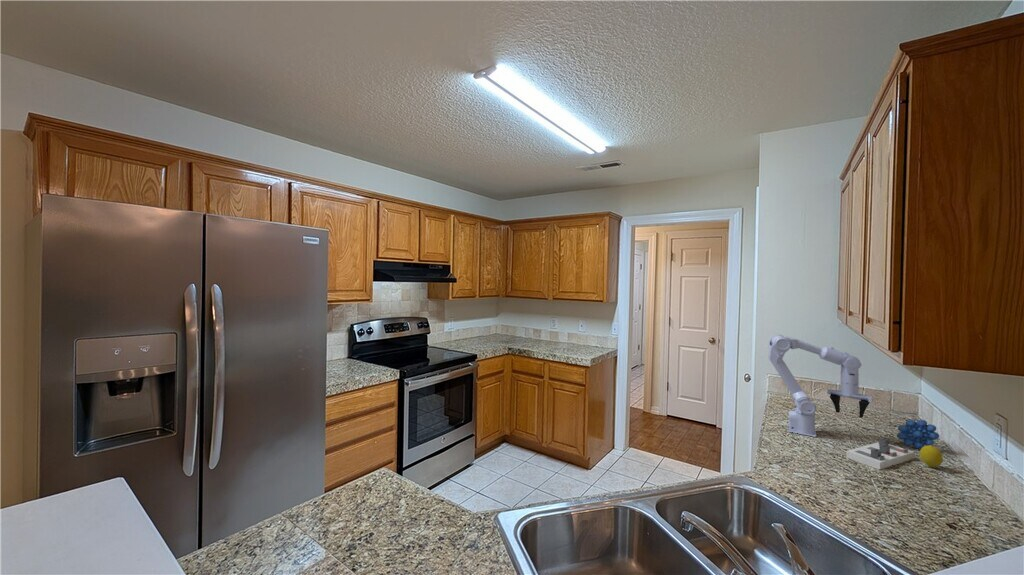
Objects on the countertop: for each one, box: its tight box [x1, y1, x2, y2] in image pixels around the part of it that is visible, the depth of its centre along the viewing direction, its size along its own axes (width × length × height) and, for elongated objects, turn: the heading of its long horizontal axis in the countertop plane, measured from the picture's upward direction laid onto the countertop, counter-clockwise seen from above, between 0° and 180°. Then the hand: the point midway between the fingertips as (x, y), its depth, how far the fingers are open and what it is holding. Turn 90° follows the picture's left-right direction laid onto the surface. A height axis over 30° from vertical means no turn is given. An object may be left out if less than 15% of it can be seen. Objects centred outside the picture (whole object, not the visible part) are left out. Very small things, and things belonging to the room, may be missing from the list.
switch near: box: [871, 449, 881, 459], centre depth 137 cm, size 2×2×3 cm
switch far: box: [878, 436, 890, 446], centre depth 148 cm, size 2×2×3 cm
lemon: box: [919, 445, 944, 468], centre depth 135 cm, size 6×6×8 cm
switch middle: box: [879, 444, 890, 454], centre depth 141 cm, size 2×2×3 cm
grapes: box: [896, 419, 940, 450], centre depth 151 cm, size 12×7×12 cm, turn 50°
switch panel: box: [846, 441, 915, 470], centre depth 143 cm, size 23×10×4 cm, turn 112°
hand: (849, 414), depth 160 cm, fingers open, 7 cm apart
